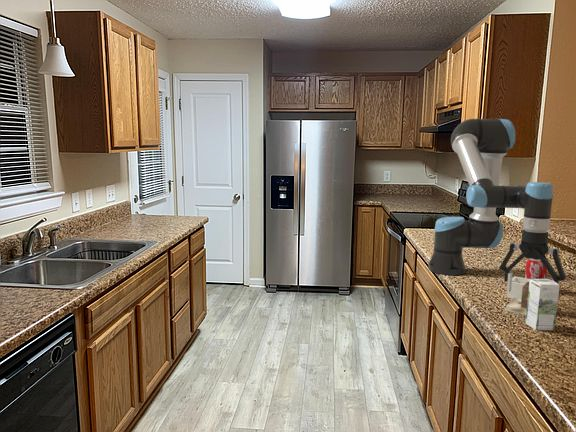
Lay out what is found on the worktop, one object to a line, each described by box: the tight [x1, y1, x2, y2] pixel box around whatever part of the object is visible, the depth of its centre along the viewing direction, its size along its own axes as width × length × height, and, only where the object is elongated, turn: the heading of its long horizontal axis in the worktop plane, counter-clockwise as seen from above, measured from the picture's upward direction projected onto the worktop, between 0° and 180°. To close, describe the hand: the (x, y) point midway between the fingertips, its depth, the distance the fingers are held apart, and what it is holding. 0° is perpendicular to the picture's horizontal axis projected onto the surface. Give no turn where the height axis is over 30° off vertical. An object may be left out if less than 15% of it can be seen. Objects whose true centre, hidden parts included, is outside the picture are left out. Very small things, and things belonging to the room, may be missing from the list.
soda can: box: [524, 259, 548, 279], centre depth 169 cm, size 7×7×12 cm
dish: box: [506, 276, 530, 299], centre depth 160 cm, size 9×9×6 cm
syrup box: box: [524, 278, 561, 331], centre depth 132 cm, size 6×6×14 cm
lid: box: [505, 282, 529, 315], centre depth 147 cm, size 11×11×8 cm
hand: (529, 295), depth 147 cm, fingers open, 12 cm apart
